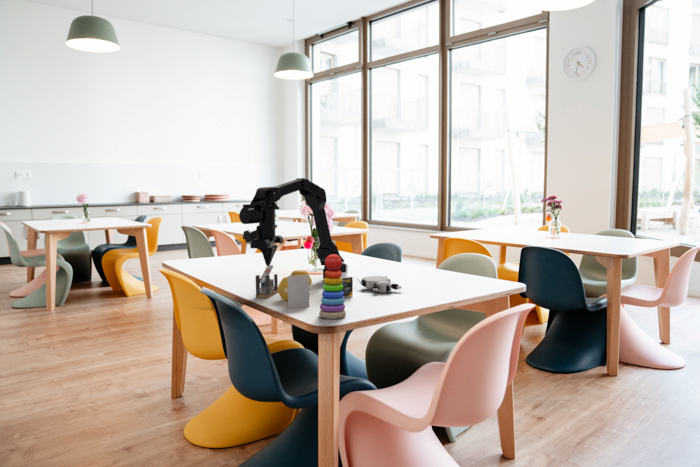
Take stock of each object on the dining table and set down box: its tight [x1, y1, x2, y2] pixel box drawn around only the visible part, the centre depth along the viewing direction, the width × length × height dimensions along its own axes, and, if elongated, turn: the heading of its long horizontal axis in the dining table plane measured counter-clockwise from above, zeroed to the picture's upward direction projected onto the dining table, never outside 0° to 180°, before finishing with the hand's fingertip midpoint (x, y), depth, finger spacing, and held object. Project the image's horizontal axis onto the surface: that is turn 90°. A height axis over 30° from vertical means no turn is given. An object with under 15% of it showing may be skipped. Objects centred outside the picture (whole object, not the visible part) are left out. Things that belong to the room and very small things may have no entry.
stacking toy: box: [318, 254, 347, 320], centre depth 154 cm, size 8×8×19 cm
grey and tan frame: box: [255, 273, 279, 299], centre depth 185 cm, size 11×5×8 cm, turn 170°
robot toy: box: [357, 275, 402, 294], centre depth 193 cm, size 12×4×15 cm
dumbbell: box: [277, 269, 313, 302], centre depth 184 cm, size 19×9×8 cm, turn 172°
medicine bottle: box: [339, 261, 354, 298], centre depth 184 cm, size 7×7×12 cm
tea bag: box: [287, 274, 311, 309], centre depth 168 cm, size 4×7×10 cm, turn 100°
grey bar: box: [259, 264, 274, 284], centre depth 185 cm, size 10×2×1 cm, turn 170°
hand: (268, 265), depth 187 cm, fingers closed
